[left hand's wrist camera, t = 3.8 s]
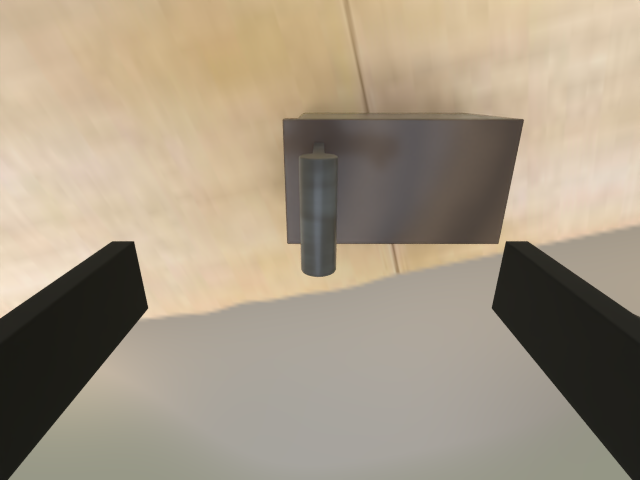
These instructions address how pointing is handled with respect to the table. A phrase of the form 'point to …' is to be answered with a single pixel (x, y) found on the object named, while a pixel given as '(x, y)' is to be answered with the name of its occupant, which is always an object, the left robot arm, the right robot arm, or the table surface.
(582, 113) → the table surface
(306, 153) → the lid
